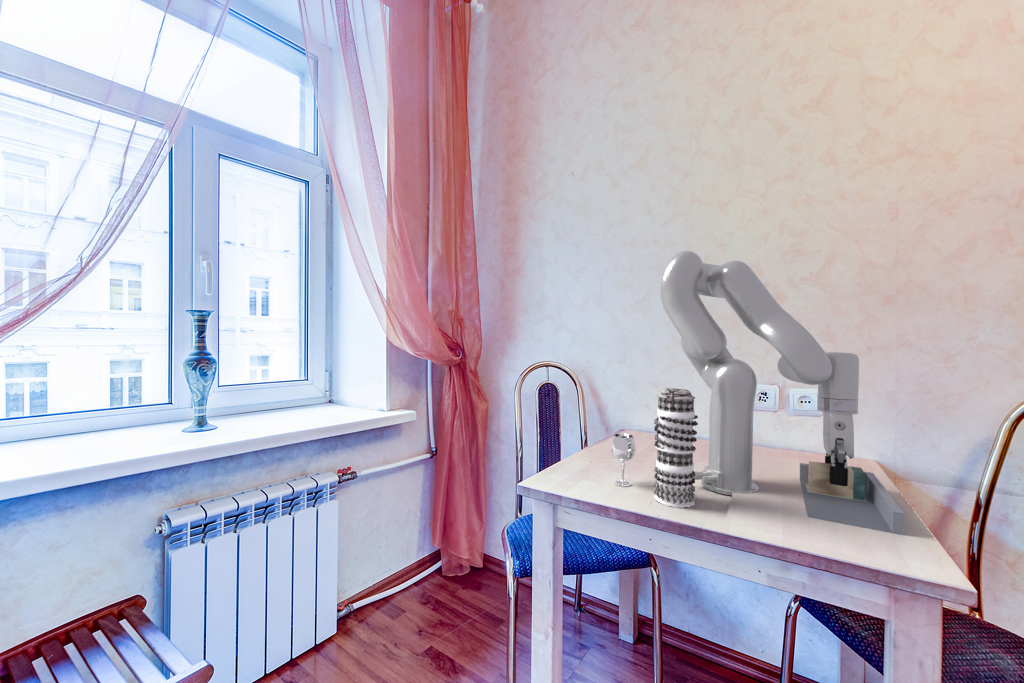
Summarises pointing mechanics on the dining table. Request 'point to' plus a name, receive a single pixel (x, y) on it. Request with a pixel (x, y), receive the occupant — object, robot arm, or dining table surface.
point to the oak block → (821, 484)
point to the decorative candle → (675, 448)
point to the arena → (855, 506)
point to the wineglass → (623, 451)
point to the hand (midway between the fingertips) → (835, 478)
